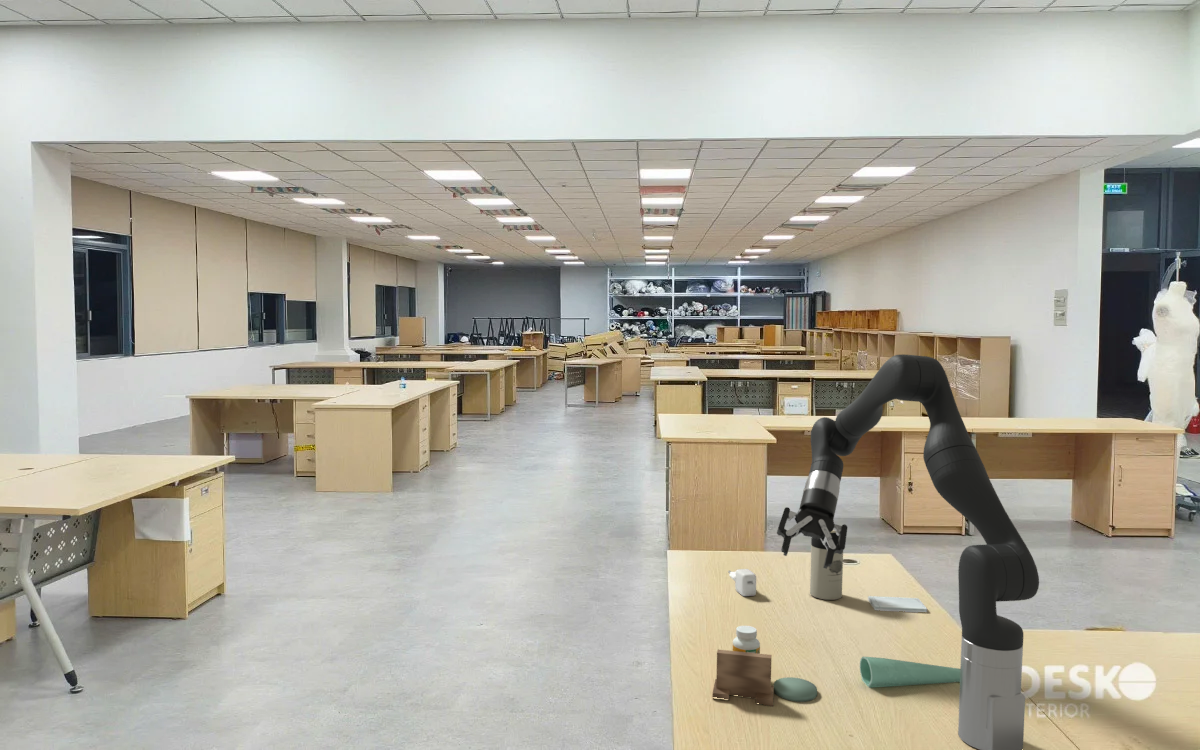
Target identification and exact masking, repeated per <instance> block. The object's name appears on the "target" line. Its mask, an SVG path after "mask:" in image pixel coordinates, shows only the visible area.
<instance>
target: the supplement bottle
mask: <svg viewBox="0 0 1200 750" xmlns="http://www.w3.org/2000/svg"><path fill="white" fill-rule="evenodd" d="M735 629H736V631H735V634H736V637H734V639H732V651H738V652H748V653H758V654H761V643H760V641H759V639H758V638H757V635H758V631H757V628H756V627H754V626H751V625H739V626H737V627H736V628H735Z"/></svg>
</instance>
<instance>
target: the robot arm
mask: <svg viewBox="0 0 1200 750" xmlns="http://www.w3.org/2000/svg"><path fill="white" fill-rule="evenodd" d="M893 400H898V401H906V402H919V403H920V404H921V405H922V406H923V408H924V410H925V412H926V414H927V417H928V420H929V430H928V433H927V436H926V438H925V439H926V440H925V442H924V446H923V455H922V456H923V462H924V465H925V467H926V470H927V472H928V474H929V477H930V480H931V481H932V484H933V486H934V488H935V490H936V492H937V493H938V494H939V495H940V496H941V497H942V498H943V499H944V500H945V501H946V502H947V503H948V504H949V505H950V506H952V508H954V509H955V510H956V511H957V512H959V513H960V514H961V515H962V516H963V517H964V518H965V519H967V520H968V521H969V522H970V523H971V524H972V525H973V526H974V527H975V529H977V530H978V531H977V532H979V534H980V535H981V537H982V538H983V540H984V542H985V544H973V545H969V546H967V547H965V548H964V549H963V551H962V552H961V555H960V557H959V560H958V561H959V562H958V569H957V571H958V572H957V573H958V611H959V613H958V614H959V620H960V624H961V641H960V643H961V645H960V646H961V647H960V668H959V669H960V682H959V696H958V697H959V698H958V699H959V700H958V723H957V724H958V726H957V729H958V731H957V732H958V736H959V738H960V740H961V741H963V742H964V743H966V744H967V745H969V746H970V747H973V748H974V749H978V750H1022V749H1023V750H1024V732H1025V712H1026V711H1025V710H1026V709H1025V708H1026V707H1025V706H1026V696H1025V694H1024V693H1022V677H1023V676H1022V675H1023V655H1024V654H1023V653H1024V652H1023V651H1024V630H1023V627H1022V626H1021V625H1019V624H1018V623H1017V622H1016V621H1014V620H1011V619H1009V618H1007V617H1005V616H1001V615H998V612H997V602H1016V601H1026V600H1030V599H1033V598H1034V597H1035V596H1036V595H1037V592H1038V590H1039V586H1040V575H1039V572H1038V571H1039V570H1038V567H1037V564H1036V562H1035V559H1034V558H1033V555H1032V553H1031V552H1030V550H1029V548H1028V546H1027V545H1026V543H1025V541H1024V540H1023V538H1022V536H1021V534H1020V533H1019V530H1017V528H1016V527H1015V525H1014V523H1013V522H1012V519H1011V518H1010V516H1009V515H1008V513H1007V511H1006V510H1005V508H1004V506H1003V504H1002V502H1001V500H1000V498H999V496H998V494H997V492H996V490H995V488H994V486H993V484H992V481H991V479H990V477H989V475H988V473H987V470H986V467H985V465H984V463H983V461H982V459H981V457H980V455H979V453H978V450H977V448H976V446H975V444H974V442H973V441H972V439H971V436H970V434H969V432H968V430H967V427H966V424H965V423H964V421H963V418H962V415H961V413H960V411H959V408H958V405H957V403H956V399H955V397H954V393H953V390H952V387H951V384H950V382H949V378H948V375H947V373H946V371H945V368H944V367H943V365H942V364H941V363H940V361H938V359H936V358H934V357H930V356H925V355H924V356H923V355H915V354H903V353H902V354H895V355H893V356H891V357H890V358H888V359H887V360H886V361H885V362H884V363H883V364H882V365H881V367H880V368H879V369H878V371H877V372H876V373H875V375H874V376H873V377H872V379H871V380H870V381H869V383H868V384H867V385H866V386H865V388H864V389H863V390H862V392H861V393H860V394H859V396H858V397H857V398H856V399H855V400H853V401H852V402H851V403H850V404H848V405H847V406H846V407H845V408H843V409H842V410H841V411H840V412H839V413H838V414H837V416H836V418H835V419H832V418H830V417H820V418H818V419H817V420H816V421H815V422H814V424H813V425H812V426H811V427H812V428H811V431H810V446H811V464H810V470H809V472H808V477H807V479H806V482H805V485H804V488H803V492H802V495H801V501H800V505H799V508H798V511H797V512H795V511H792V510H791V509H790V507H784V510H783V513H782V515H781V518H780V520H779V521H780V522H779V524H778V528H777V530H776V534H777V535H778V536H780V537H782V539H783V540H782V546H781V553H783V556H784V557H787V556H788V553H789V549H790V546H791V542H792V541H791V540H792V539H793V538H794V537H797V536H798V535H800V534H802V535H803V536H805V537H808V538H809V537H810V538H814V539H817V540H818V539H821V541H822V543H823V545H825V547H826V549H827V553H826V557H825V562H824V567H823V568H826V569H827V567H830V566H831V564H832V561H833V556H834V554H835V553H838V554H842V553H843V554H844V551H845V548H846V541H847V535H848V525H847V524H845V523H844V524H842V525H840V524H835V522H834V519H835V513H836V511H837V505H838V501H839V496H840V492H841V491H840V489H841V488H840V487H841V479H842V475H843V471H844V467H845V466H844V461H843V460H842V458H841V457H846V456H850V455H851V454H852V453H853V452H854V451H855V448H856V446H857V445H858V442H859V441H860V440H861V438H862V437H863V436H864V435H865V434H866V433H868V432H869V431H871V430H872V429H874V427H875V426H876V425H878V424H879V422H880V420H881V419H882V416H883V411H884V409H883V406H884V405H885V404H887V403H888V402H891V401H893ZM792 519H794V521H795V522H796V524H794V525H793V527H791V528H789V529H788V530H787V529H786V524H787V522H790V521H791V520H792ZM833 530H835V531H836V535H837V536H839V539H838V545H835V544H834V542H833V540H832V536H831V534H830V532H831V531H833Z"/></svg>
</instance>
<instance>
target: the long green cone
mask: <svg viewBox="0 0 1200 750" xmlns="http://www.w3.org/2000/svg"><path fill="white" fill-rule="evenodd" d="M859 672H860V677H861V680H862V682H863V683H864V684H865V685H866V686H867V687H868V688H883V687H884V688H886V687H887V688H888V687H900V686H903V687H904V686H916V685H917V686H918V685H933V684H936V685H937V684H949V683H952V684H953V683H960V668H957V667H951V666H944V665H938V664H937V665H936V664H927V663H922V662H916V661H915V662H914V661H908V660H907V661H906V660H901V659H893V658H887V657H875V656H874V657H873V656H862V657H861V658H860V660H859Z"/></svg>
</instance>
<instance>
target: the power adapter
mask: <svg viewBox="0 0 1200 750" xmlns="http://www.w3.org/2000/svg"><path fill="white" fill-rule="evenodd" d="M727 572H728V574H729V577H730V579H732V580H733V581H734V582H735V583H734V588H735V591H736V592H737V593H739V594H740V595H741V596H742V597H752V596H753V597H754V596H756V594H757V575H756V574H755V573H754V571H752V570H751V569H749V568H739V569H736V570H735V571H731V570H728V571H727Z"/></svg>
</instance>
